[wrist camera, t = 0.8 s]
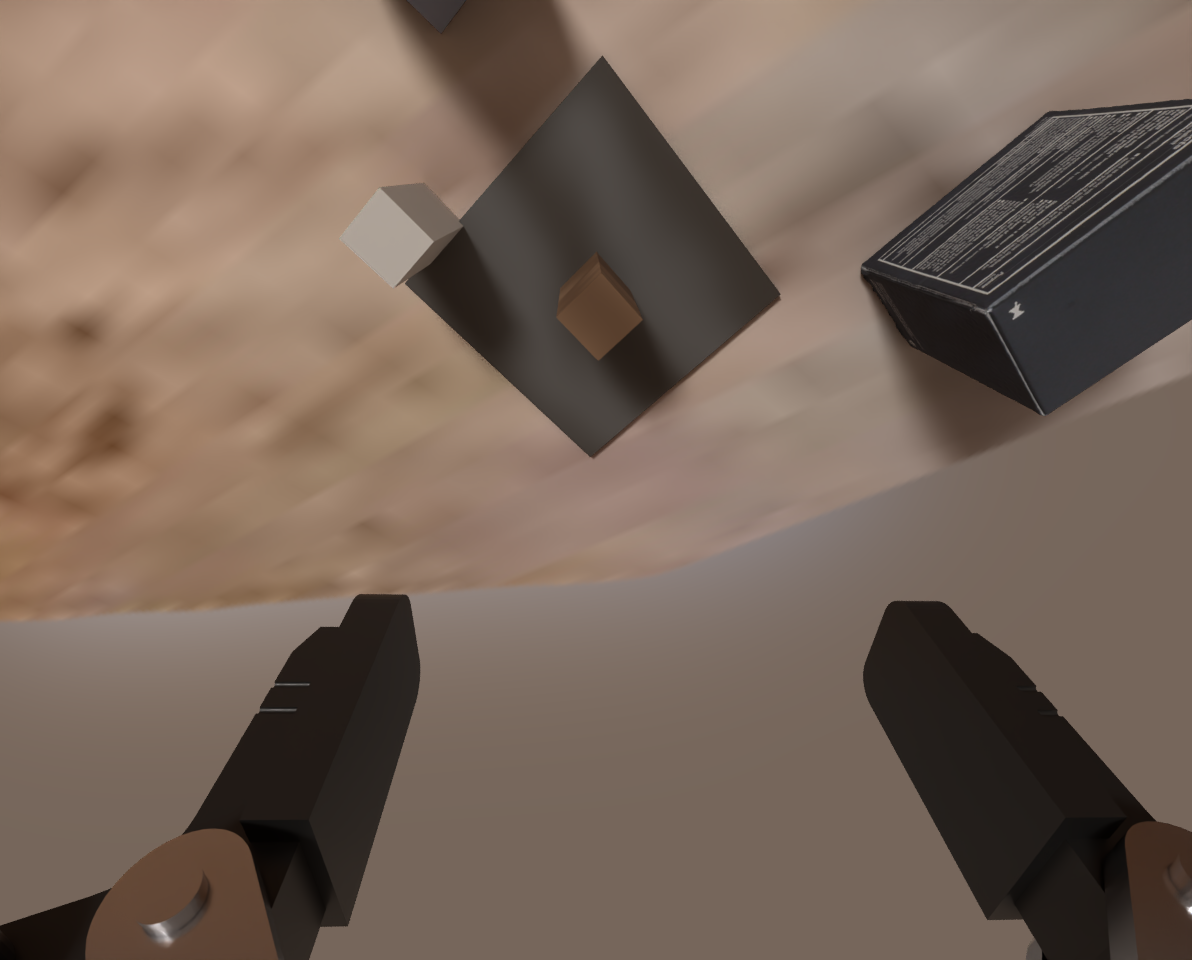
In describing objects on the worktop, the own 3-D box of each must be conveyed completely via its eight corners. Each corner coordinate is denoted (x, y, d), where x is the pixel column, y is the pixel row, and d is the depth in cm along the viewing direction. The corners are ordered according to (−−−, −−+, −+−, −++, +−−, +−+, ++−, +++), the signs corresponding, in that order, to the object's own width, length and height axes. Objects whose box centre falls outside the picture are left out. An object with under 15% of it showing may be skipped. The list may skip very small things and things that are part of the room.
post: (423, 182, 27) (379, 187, 21) (464, 225, 28) (433, 241, 22) (390, 223, 28) (339, 238, 22) (432, 263, 29) (393, 288, 23)
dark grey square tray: (602, 57, 25) (610, 21, 19) (778, 292, 30) (829, 324, 24) (406, 282, 29) (362, 312, 23) (590, 453, 35) (592, 515, 29)
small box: (911, 354, 32) (1043, 428, 23) (854, 266, 30) (976, 310, 21) (1097, 216, 29) (1338, 238, 20) (1050, 104, 27) (1299, 71, 17)
